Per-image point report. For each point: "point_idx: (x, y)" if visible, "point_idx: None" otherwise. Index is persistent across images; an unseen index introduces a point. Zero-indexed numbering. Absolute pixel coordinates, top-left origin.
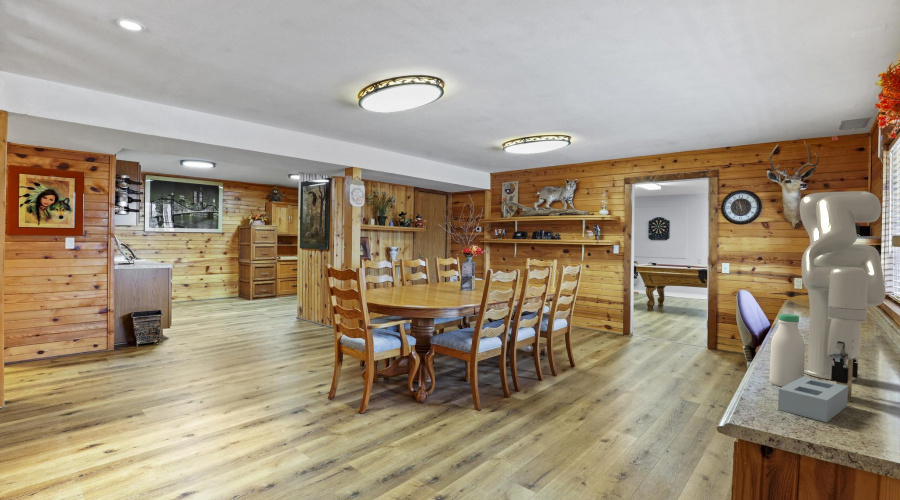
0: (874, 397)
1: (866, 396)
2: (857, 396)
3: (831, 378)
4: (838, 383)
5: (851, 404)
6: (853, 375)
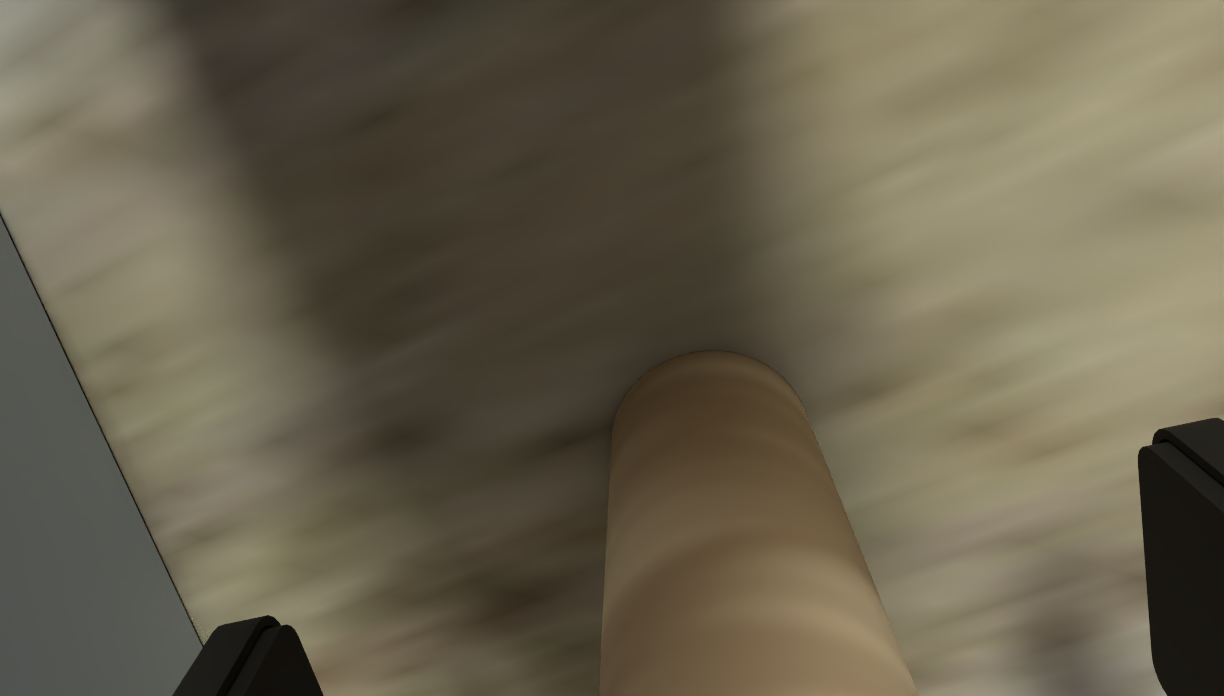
0: (1135, 634)
1: (1076, 572)
2: (929, 524)
3: (202, 651)
4: (619, 520)
5: (367, 668)
6: (1167, 664)
